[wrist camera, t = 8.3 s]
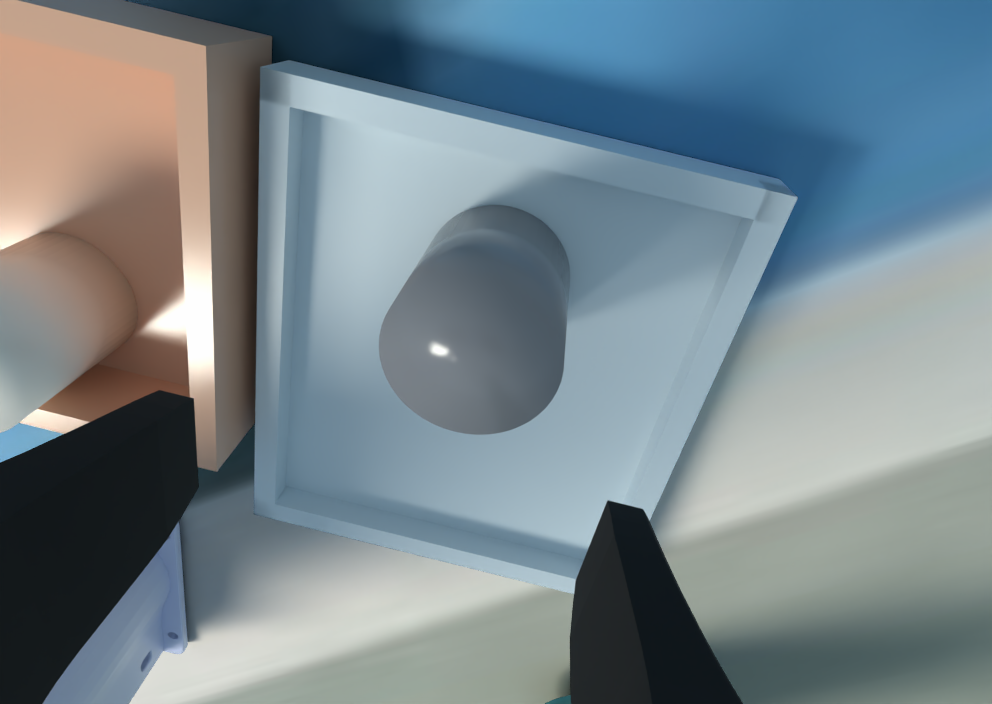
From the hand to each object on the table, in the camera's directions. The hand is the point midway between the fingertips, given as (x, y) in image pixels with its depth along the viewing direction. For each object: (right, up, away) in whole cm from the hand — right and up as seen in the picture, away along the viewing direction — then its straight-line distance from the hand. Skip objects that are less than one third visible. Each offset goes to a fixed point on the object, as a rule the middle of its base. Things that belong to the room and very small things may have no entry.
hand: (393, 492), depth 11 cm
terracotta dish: (-12, +7, +10) cm, 17 cm away
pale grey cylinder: (-13, +4, +11) cm, 17 cm away
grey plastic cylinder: (+2, +5, +8) cm, 10 cm away
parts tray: (+1, +2, +11) cm, 11 cm away
